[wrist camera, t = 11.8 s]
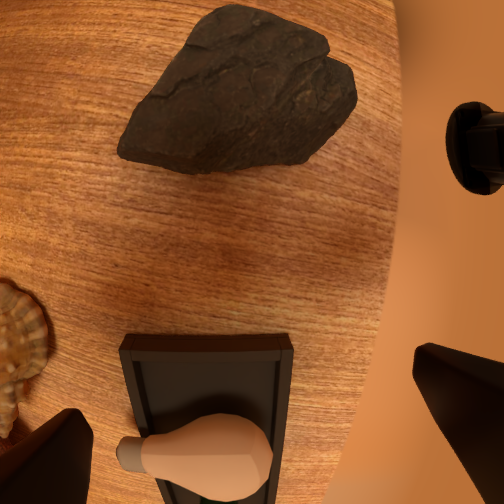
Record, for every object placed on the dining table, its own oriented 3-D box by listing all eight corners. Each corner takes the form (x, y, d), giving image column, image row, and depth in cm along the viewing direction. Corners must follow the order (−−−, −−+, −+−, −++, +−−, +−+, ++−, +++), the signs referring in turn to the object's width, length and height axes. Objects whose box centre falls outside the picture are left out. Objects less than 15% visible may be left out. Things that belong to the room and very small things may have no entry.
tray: (287, 333, 20) (294, 349, 18) (266, 531, 28) (268, 543, 26) (126, 333, 19) (117, 349, 17) (184, 532, 27) (183, 544, 25)
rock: (352, 86, 17) (223, -9, 13) (406, 97, 13) (238, -41, 8) (258, 210, 21) (123, 136, 17) (281, 258, 16) (97, 164, 12)
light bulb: (118, 509, 14) (279, 516, 14) (85, 443, 14) (274, 450, 14) (140, 457, 21) (272, 457, 21) (120, 394, 20) (267, 392, 21)
